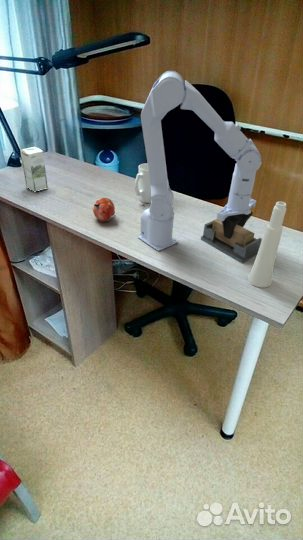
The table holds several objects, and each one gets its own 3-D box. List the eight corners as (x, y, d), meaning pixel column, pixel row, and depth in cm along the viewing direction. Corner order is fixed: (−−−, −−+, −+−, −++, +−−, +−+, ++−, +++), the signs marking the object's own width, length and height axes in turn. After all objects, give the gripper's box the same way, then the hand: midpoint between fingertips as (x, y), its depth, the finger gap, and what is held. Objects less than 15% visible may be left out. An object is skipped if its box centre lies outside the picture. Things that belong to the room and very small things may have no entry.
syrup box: (40, 184, 135) (33, 145, 126) (48, 189, 131) (43, 150, 123) (26, 188, 131) (19, 149, 122) (35, 193, 128) (28, 153, 119)
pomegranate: (105, 218, 120) (82, 207, 113) (117, 200, 118) (95, 188, 111) (114, 230, 115) (90, 219, 108) (127, 212, 113) (104, 200, 106)
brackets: (200, 239, 107) (202, 224, 104) (218, 230, 111) (221, 216, 108) (241, 263, 98) (245, 248, 95) (259, 253, 102) (263, 238, 99)
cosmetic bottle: (275, 279, 92) (299, 202, 79) (265, 291, 88) (289, 212, 75) (253, 270, 95) (273, 195, 82) (243, 281, 91) (263, 203, 78)
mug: (146, 193, 132) (147, 161, 124) (160, 199, 128) (162, 166, 121) (127, 201, 125) (127, 169, 118) (142, 208, 122) (142, 174, 115)
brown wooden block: (211, 234, 106) (213, 220, 103) (218, 231, 108) (221, 216, 105) (243, 252, 99) (246, 237, 96) (250, 248, 101) (254, 233, 98)
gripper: (235, 203, 88) (226, 249, 96) (269, 189, 96) (258, 233, 104) (214, 194, 92) (207, 238, 100) (248, 181, 100) (239, 223, 108)
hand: (231, 235), depth 102 cm, fingers closed on brown wooden block, 3 cm apart
